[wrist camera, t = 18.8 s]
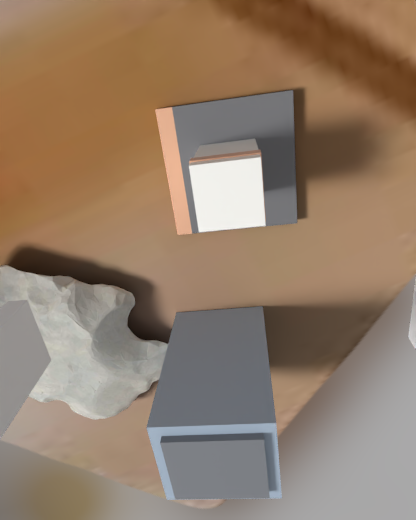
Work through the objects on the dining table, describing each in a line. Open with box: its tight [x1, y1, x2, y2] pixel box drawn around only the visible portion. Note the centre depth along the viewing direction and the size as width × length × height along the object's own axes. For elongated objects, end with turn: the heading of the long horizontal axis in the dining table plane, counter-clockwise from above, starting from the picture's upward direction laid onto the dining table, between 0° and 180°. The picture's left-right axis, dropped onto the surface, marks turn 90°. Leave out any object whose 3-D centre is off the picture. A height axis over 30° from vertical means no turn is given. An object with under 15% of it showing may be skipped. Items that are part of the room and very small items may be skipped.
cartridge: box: [189, 139, 266, 232], centre depth 31 cm, size 5×5×9 cm
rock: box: [0, 265, 168, 419], centre depth 43 cm, size 19×7×25 cm
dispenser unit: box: [147, 306, 282, 500], centre depth 37 cm, size 10×10×17 cm
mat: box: [155, 90, 297, 235], centre depth 35 cm, size 12×12×1 cm
